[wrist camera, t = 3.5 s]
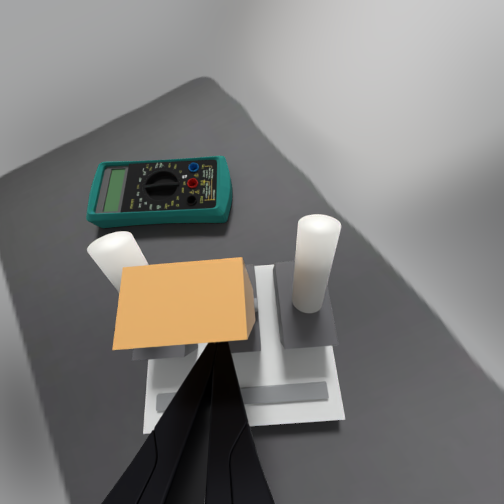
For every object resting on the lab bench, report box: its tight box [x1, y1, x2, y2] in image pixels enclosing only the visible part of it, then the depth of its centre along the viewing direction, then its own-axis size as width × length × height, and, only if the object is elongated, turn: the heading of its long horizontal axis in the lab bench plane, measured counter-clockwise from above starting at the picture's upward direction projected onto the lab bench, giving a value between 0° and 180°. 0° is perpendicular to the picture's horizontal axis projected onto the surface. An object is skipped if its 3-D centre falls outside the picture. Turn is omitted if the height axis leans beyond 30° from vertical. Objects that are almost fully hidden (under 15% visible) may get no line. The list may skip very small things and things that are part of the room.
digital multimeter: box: [86, 156, 232, 228], centre depth 21 cm, size 7×15×3 cm, turn 92°
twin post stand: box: [87, 214, 345, 434], centre depth 12 cm, size 13×15×11 cm
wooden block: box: [113, 257, 258, 350], centre depth 9 cm, size 2×4×9 cm, turn 95°
